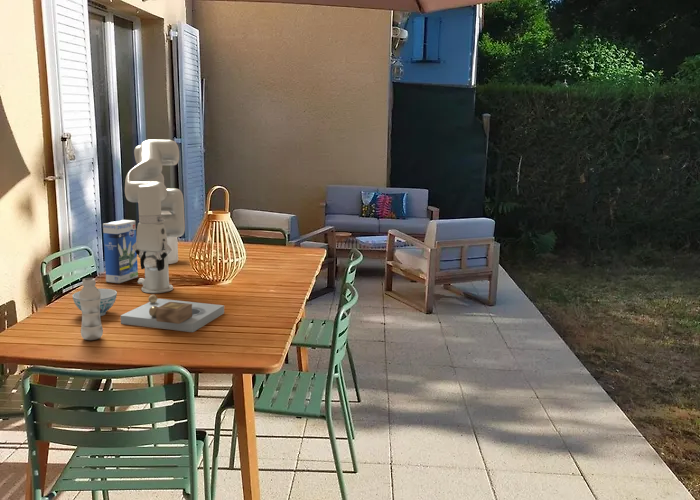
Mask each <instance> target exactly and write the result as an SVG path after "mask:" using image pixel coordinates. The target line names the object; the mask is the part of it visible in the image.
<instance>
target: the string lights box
mask: <svg viewBox="0 0 700 500" xmlns="http://www.w3.org/2000/svg"><path fill="white" fill-rule="evenodd" d="M136 227H137V226H136V220H132V219H121V220H115V221H110V222H105V223H102V229H103V230H102V233H103V248H104V249H103V250H104V252H103V253H104V264H105V265H104V266H105V282H106V283H114V284H122V283H124V282H128V281H130V280H133V279H136V278H138V277H139V268H138V255H137V253H136V252H135V251H134V250H133V248H132V246H133V245H134V243H135V242H136V236H137V228H136Z"/></svg>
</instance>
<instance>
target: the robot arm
mask: <svg viewBox="0 0 700 500" xmlns="http://www.w3.org/2000/svg"><path fill="white" fill-rule="evenodd" d="M133 154H134V159H135V163H136V165H134V167H132V168H131V169H130V170H129V171H128V172H127V174H126V176H125V180H124V181H125V183H124V194H125V195H124V196H125V198H126V200H127V201H128V202H130V203H138V219H139V220H138V221H139V222H138V223H137V226H136V227H137V228H136V242H135V243H134V245H133V246H132V248H133V250H134V251H135V252H136V253H137V258H139V260H140V262H139V263H140V269H141V270H144V278H143V277H142V278H141V277H140V278H138V280H137V284H140V285H142V286H141V291H142V292H143V293H146V294H162V293H167V292H170V291H173V289H174V286H173V285H172V284H170V277H169V275H170V274H169V273H170V272H169V264H168V254H169V253H170V252H171V251H172V249H171V248H170V247H169V246H168V244H167V237H177V238H180V237H182V236H184V234H185V231H186V229H185V228H186V227H185V226H186V225H185V224H186V223H185V222H186V221H185V202H184V201H185V200H184V195H183V192H182V190H181V189H179V188H175V187H172V188H171V187H167V186H166V185H165V177H164V174H163V173H162V171H163V166H177V164H178V163H179V161H180V150H179V145H178V143H177V142H176V141H175V140H171V139H146V140H144V141H142V142H141V143H140V144H139V145H137V146H135V148H134V150H133ZM161 211H169V212H170V213H171V214H161ZM148 255H156V256H158V259H159V260H157V269H158V270H156V271H148V270H147V269H146V268H145V267H144V259H145V258H146V257H147V256H148Z"/></svg>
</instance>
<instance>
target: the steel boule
mask: <svg viewBox="0 0 700 500" xmlns="http://www.w3.org/2000/svg"><path fill="white" fill-rule="evenodd" d="M157 260H159V259H158V256H156V255H148V256H147V257H146V258H145V259H144V267H145V268H146V269H147V270H148V271H156V270H158V269H157ZM145 268H144V269H145Z"/></svg>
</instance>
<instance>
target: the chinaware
mask: <svg viewBox="0 0 700 500" xmlns="http://www.w3.org/2000/svg"><path fill="white" fill-rule="evenodd" d="M97 289H98V290H99V291H100V293H101V301H100V317H102V316H105V315H106V314H107V311H109V310H110V309H111V308H112V307H113V305H114V304H115V303H116V300H117V297H118V295H117V294H118V292H117V291H116V290H115V289H111V288H97ZM80 292H81V290H80V291H76V292H74V293H73V294H71V295H72V300H73V303H74V304H75V306H76V307H77V308H78V310H79V311H81V305H80V299H79V294H80Z"/></svg>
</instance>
